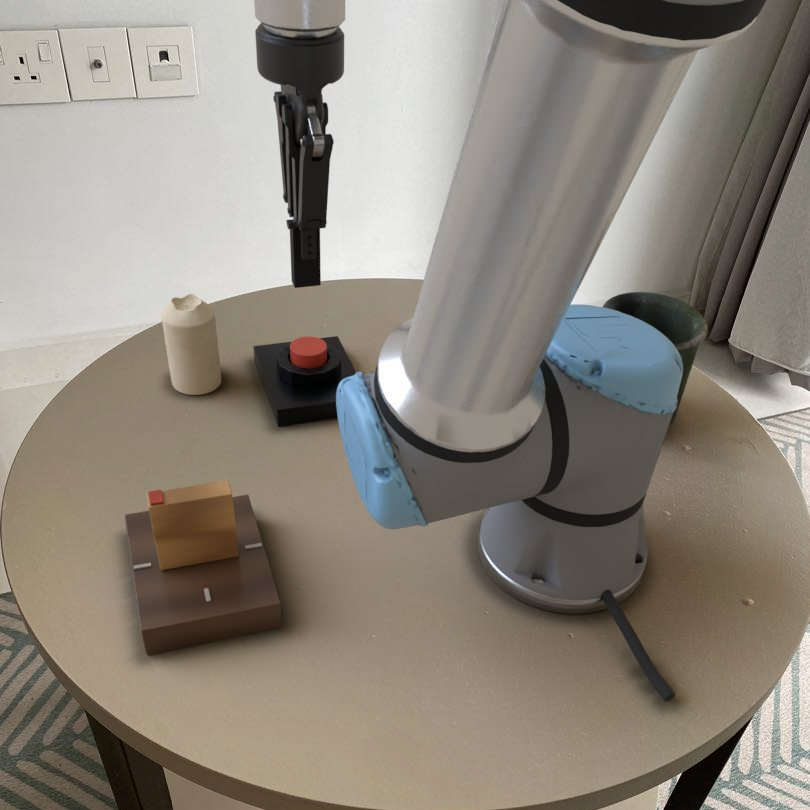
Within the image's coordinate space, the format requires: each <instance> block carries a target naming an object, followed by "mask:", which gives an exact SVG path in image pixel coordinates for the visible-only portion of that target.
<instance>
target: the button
mask: <svg viewBox="0 0 810 810" xmlns="http://www.w3.org/2000/svg"><path fill="white" fill-rule="evenodd" d="M320 338H321V337H316V336H301V337H297V338H295V339H294V340H292V341H290V342H291V344H290V357H291V362H292V364H293V365H295V366H297V367H302V368H316V367H321V366H322V365H324V364H326V362H327V344H326V343H325V341H323V340H322V339H320Z"/></svg>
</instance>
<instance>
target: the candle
mask: <svg viewBox="0 0 810 810" xmlns="http://www.w3.org/2000/svg"><path fill="white" fill-rule="evenodd" d="M215 314H216V312H215V310H214V307H212V306H211V305H209V304H208V303H207V302H206V301H204V300H202V299H201V298H198V297H197V296H196V295H195V294H192V293H188V294H187V295H184V296H183V297H173V298H171V299H170V301H169V302H168V303H167V305H166V306H165V307H164V308H163V309H162V311H161V314H160V317H161V323H162V329H163V335H164V337H163V338H164V343H165V349H166V354H167V362H168V369H169V375H170V380H171V384H172V387H173V388H174V389H175V391H177V392H180V393H182V394H184V395H190V396H201V395H206V394H209V393H211V392H213V391H216V389H218V388H219V387H220V385H221V383H222V367H221V361H220V360H221V359H220V351H219V340H218V333H217V332H218V331H217V323H216V315H215Z"/></svg>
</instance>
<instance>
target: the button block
mask: <svg viewBox="0 0 810 810" xmlns="http://www.w3.org/2000/svg"><path fill="white" fill-rule="evenodd" d="M319 338H320V339H322V340H323V341H325V343H326V344H327V362H326V364H324V365H322V366H321V367H316V368H302V367H297V366H295V365H293V364H292V362H291V357H290V344H291V342H292V341H285V342H277V343H267V344H261V345H253V361H254V364H255V367H256V370H257V373H258V376H259V378H260V380H261V384H262V386H263V390H264V392H265V394H266V397H267V401H268V403H269V406H270V408H271V412H272V414H273V417H274V420H275V422H276V425H277V427H278V428H279V427H288V426H293V425H300V424H307V423H314V422H321V421H328V420H335V419H336V420H337V419H338V416H337V407H336V392H337V387H338V385H339V383H340V382H341V381H342V380H343V379H344V378H347V377H350V376H353V375H355V374H356V372H357V371H356V369H355V367H354V366H353V363H352V362H351V359H350V358H349V355H348V354H347V352H346V350H345V348H344V345H343V344H342V341H341V340H340V338H339V336H338V335H334V336H328V337H327V336H326V337H319Z"/></svg>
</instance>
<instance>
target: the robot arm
mask: <svg viewBox="0 0 810 810" xmlns="http://www.w3.org/2000/svg"><path fill="white" fill-rule="evenodd" d="M767 1H768V0H501V3H500V6H499V9H498V13H497V16H496V20H495V24H494V27H493V31H492V34H491V38H490V42H489V45H488V49H487V53H486V56H485V59H484V64H483V66H482V71H481V73H480V78H479V81H478V84H477V88H476V92H475V95H474V99H473V102H472V105H471V109H470V113H469V116H468V121H467V123H466V128H465V131H464V133H463V134H464V135H463V138H462V142H461V145H460V149H459V152H458V157H457V160H456V163H455V166H454V171H453V174H452V177H451V181H450V184H449V188H448V192H447V194H446V199H445V202H444V206H443V209H442V213H441V217H440V221H439V224H438V227H437V231H436V235H435V238H434V242H433V245H432V248H431V252H430V256H429V260H428V263H427V266H426V270H425V274H424V277H423V281H422V284H421V288H420V290H419V291H420V292H419V295H418V298H417V299H418V300H417V302H416V306H415V309H414V312H413V316H412V317H411V318H409V319H407V320H406V321H404V322H402V323H401V324H399V325H398V326H397V327H396V328H395V329H393V331H392V332H391V333H390V334H389V335H388V336H387V338H386V339H385V341H384V342H383V344H382V346H381V349H380V351H379V354H378V358H377V363H376V365H375V366H376V367H375V369H374V371H372V372H367V373H363V371H356V374H355V375H353V376H350V377H347V378H344V379H343V380H342V381H341V382H340V383H339V385H338V387H337V392H336V407H337V416H338V418H337V421H338V427H339V432H340V437H341V441H342V445H343V449H344V453H345V456H346V460H347V463H348V467H349V469H350V472H351V475H352V479H353V481H354V484H355V487H356V489H357V492H358V494H359V496H360V499H361V501H362V503H363V505H364V507H365V509H366V511H367V512H368V513H369V515H370V516H371V518H372V519H373V521H374V522H375V523H377V524H378V525H379V526H381V527H383V528H384V529H387V530H400V529H406V528H411V527H417V526H420V527H424V528H425V527H428V525H429V524H432V523H435V522H440V521H443V520H448V519H451V518H456V517H459V516H464V515H467V514H470V513H474V512H475V513H476V512H479V511H483V510H485V512H484V514H483V516H482V519H481V522H480V525H479V531H478V538H477V552H478V556H479V560H480V563H481V564H482V567H483V569H484V570H485V571H486V574H487V575H488V576H489V577H490V579H491V580H492V581H493V582H494V583H495V584H496V585H497V586H498V587H499V588H501V589H502V591H505V592H506V593H507V594H509V595H510V596H512V597H513V598H515V599H517V600H519V601H521V602H523V603H524V604H528V605H529V606H533V607H535V608H538V609H541V610H545V611H549V612H554V613H559V614H560V613H561V614H573V615H574V614H590V613H595V612H600V611H604V610H607V611H608V612H609V613H610V616H611V617H612V619H613V620H614V622H615V623H616V625H617V627H618V629H619V631H620V632H621V634H622V636H623V638H624V640H625V641H626V643H627V645H628V647H629V648H630V650H631V652H632V654H633V656H634V658H635V660H636V661H637V663H638V665H639V666H640V668H641V670H642V672H643V673H644V674H645V676H646V677H647V679H648V681H649V682H650V684H651V685H652V686H653V687H654V689H655V691H656V692H657V693H658V694H659V695H660V697H661V698H662V699H663V701H664V702H665V703H666V702H670V701H672V700H673V699H674V698H675V697H676V693H675V692H674V691H673V689H672V688H671V687H670V686H669V684H668V683H667V682H666V680H665V679H664V678H663V676H662V675H661V674H660V672H659V670H658V668H656V666H655V664H654V663H653V661H652V659H651V658H650V656H649V654H648V652H647V650H646V649H645V647H644V645H643V643H642V642H641V640H640V638H639V636H638V634H637V633H636V631H635V629H634V628H633V626H632V624H631V622H630V621H629V619H628V618H627V616H626V614H625V612H624V611H623V609H622V607H621V605H620V603H622V602H624V601H625V600H627V598H629V597H630V596H631V595H632V594H633V593H634V592H635V590H636V589H637V588H638V586H639V584H640V582H641V579H642V577H643V573H644V570H645V568H646V566H647V560H648V540H647V532H646V523H645V522H646V521H645V512H644V501H645V499H646V495H647V493H648V490H649V486H650V483H651V481H652V478H653V475H654V471H655V469H656V466H657V463H658V460H659V457H660V453H661V450H662V448H663V446H664V445H663V444H664V442H665V439H666V436H667V433H668V430H669V429H668V427H669V424H670V421H671V418H672V415H673V412H674V411H675V409H676V408H677V403H678V400H677V394H678V390H679V386H680V383H681V379H682V375H683V364H682V359H681V356H680V354H679V352H678V350H677V349H676V347H675V346H674V345H673V343H672V342H671V341H670V340H669V339H668V338H667V337H666V336H665V335H663V334H662V333H661V332H660V331H658V330H657V329H655V328H654V327H652V326H651V325H649V324H647V323H645V322H643V321H642V320H639V319H637V318H635V317H632V316H630V315H627V314H624V313H622V312H619V311H616V310H612V309H608V308H604V307H603V306H598V305H597V306H596V305H591V304H576V303H575V304H573V303H572V302H573V301H574V298H575V296H576V294H577V292H578V291H579V288H580V287H581V284H582V282H583V281H584V279H585V277H586V275H587V272H588V270H589V268H590V267H591V264H592V263H593V261H594V259H595V257H596V255H597V253H598V251H599V248H600V246H601V245H602V242H603V241H604V239H605V236H606V235H607V232H608V231H609V229H610V227H611V225H612V223H613V221H614V219H615V217H616V215H617V212H618V211H619V209H620V207H621V205H622V203H623V201H624V199H625V197H626V195H627V193H628V191H629V189H630V187H631V185H632V183H633V181H634V180H635V177H636V175H637V173H638V171H639V169H640V167H641V165H642V163H643V161H644V159H645V157H646V155H647V154H648V151H649V149H650V147H651V145H652V143H653V142H654V139H655V137H656V135H657V133H658V131H659V129H660V127H661V125H662V123H663V121H664V119H665V117H666V115H667V113H668V111H669V110H670V107H671V105H672V103H673V101H674V99H675V97H676V95H677V94H678V92H679V89H680V87H681V86H682V83H683V81H684V79H685V77H686V76H687V73H688V71H689V70H690V67H691V65H692V63H693V62H694V59H695V58H696V55H697V53H698V51H700V50H704V49H707V48H710V47H713V46H716V45H719V44H723V43H725V42H729V41H731V40H733V39H736V38H737V37H738V36H741V34H743V33H745V32H746V31H748V29H749V28H750V27H751V26H752V25H753V24H754V23H755V22H756V20H757V18H758V16H759V15H760V14H761V12H762V10H763V8H764V6H765V4H766V3H767ZM253 2H254V3H253V4H254V5H253V6H254V17H255V18H256V20H257V21H258V22H259V25H257V27H256V28H255V31H254V33H255V50H256V68H257V72H258V74H259V75H260V76H261V77H262V78H263V79H264V80H266V81H268V82H270V83H272V84H276V85H279V86H280V90H279V91H274V93H273V102H274V105H275V113H276V120H277V121H276V122H277V131H278V132H277V133H278V143H279V156H280V167H281V180H282V190H283V194H282V198H283V201H284V203H285V204H287V211H286V212H287V214H288V216H289V218H292V219H286V220H285V221H286V228H287V230H289V245H290V246H289V247H290V274H291V275H290V276H291V283H292V285H293V287H294V289H298V288H308V287H317V286H321V285H322V284H321V282H322V281H321V280H322V279H321V278H322V277H321V275H322V274H321V229H326V228H327V223H328V222H327V213H328V200H329V199H328V198H329V183H330V165H331V157H332V152H333V147H334V143H335V142H334V138H333V134H332V133H327V132H326V131H327V129H326V128H327V125H328V124H329V106H328V103H327V102H324V99H323V93H322V92H323V89H324V88H325V87H326V86H328V85H329V84H330V85H331V84H335V83H336V82H339V80H341V79H342V77H343V76H344V73H345V32H343V30H342V28H341V27H340V26H341V25H342V24H343V23H344V22H345V21H346V0H253Z"/></svg>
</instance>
